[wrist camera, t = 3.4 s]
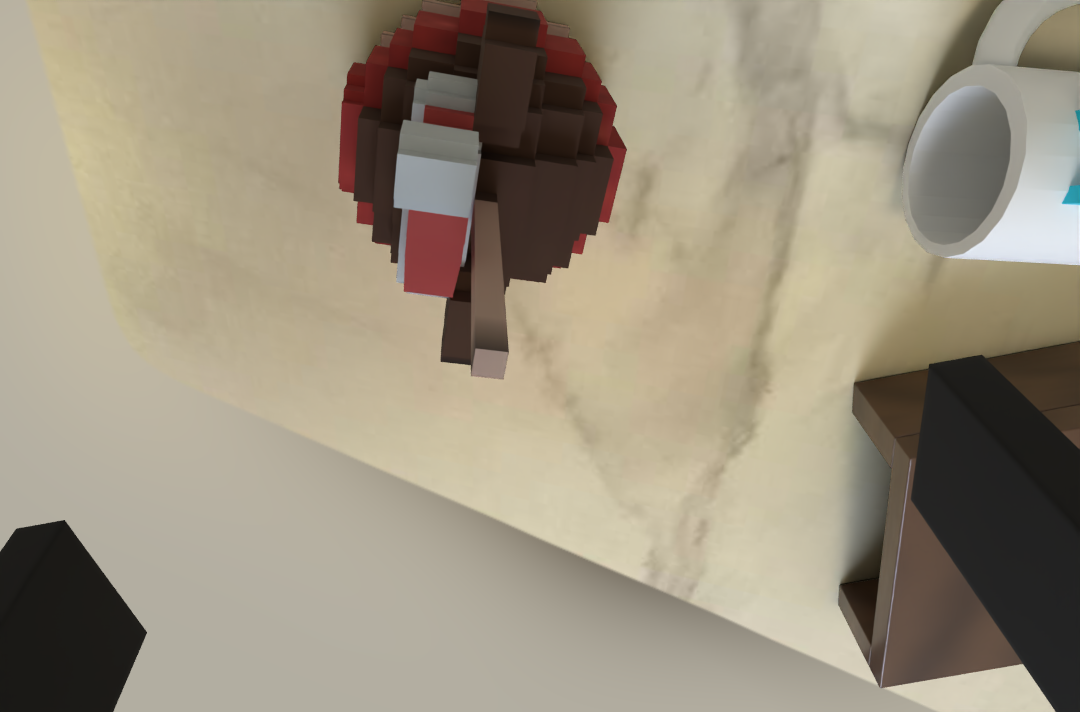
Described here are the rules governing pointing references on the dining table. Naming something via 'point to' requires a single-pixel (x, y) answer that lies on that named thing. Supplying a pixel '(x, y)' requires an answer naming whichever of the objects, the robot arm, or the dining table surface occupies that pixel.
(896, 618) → the shelf
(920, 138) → the mug
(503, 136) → the cake
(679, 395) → the dining table surface
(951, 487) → the robot arm
